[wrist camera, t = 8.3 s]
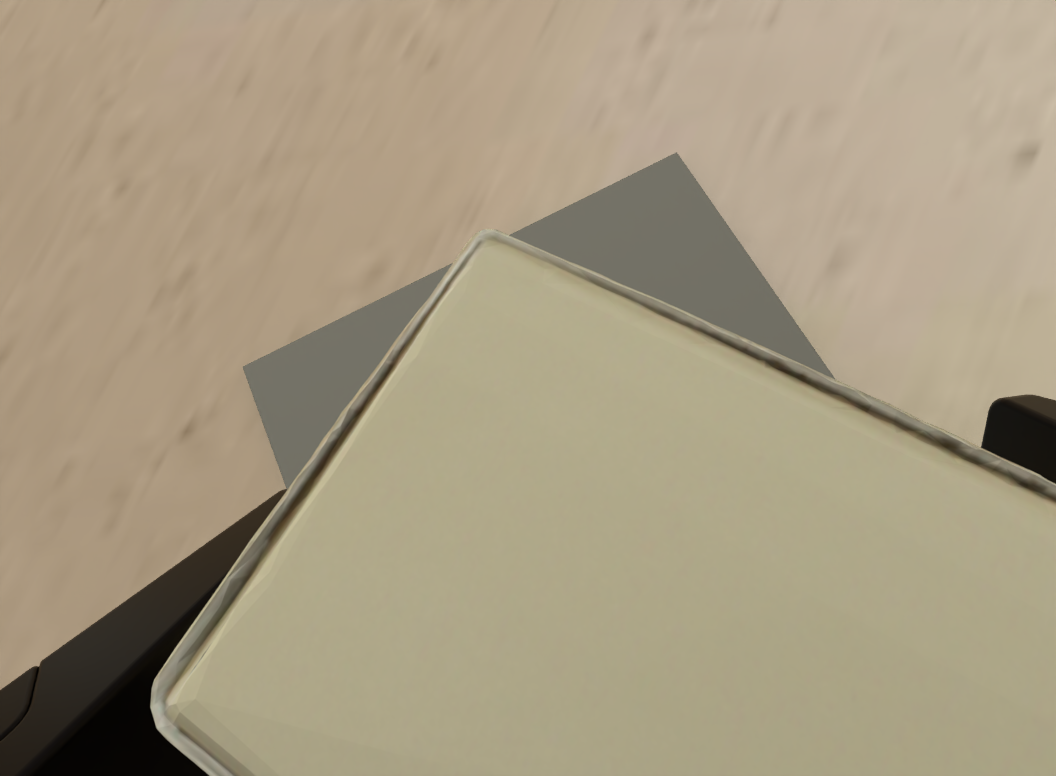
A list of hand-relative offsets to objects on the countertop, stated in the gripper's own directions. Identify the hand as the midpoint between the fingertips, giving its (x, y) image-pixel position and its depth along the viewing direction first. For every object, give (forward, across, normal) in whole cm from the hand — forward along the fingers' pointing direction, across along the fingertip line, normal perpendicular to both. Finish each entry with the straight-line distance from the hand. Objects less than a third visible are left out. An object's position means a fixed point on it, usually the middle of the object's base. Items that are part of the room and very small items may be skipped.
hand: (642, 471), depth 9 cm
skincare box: (+4, 0, +7) cm, 8 cm away
